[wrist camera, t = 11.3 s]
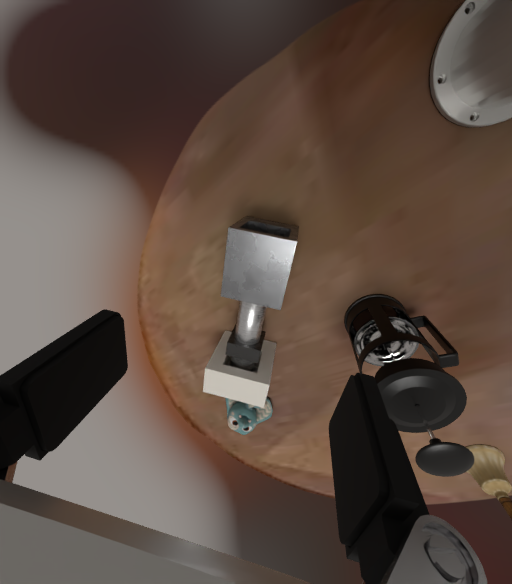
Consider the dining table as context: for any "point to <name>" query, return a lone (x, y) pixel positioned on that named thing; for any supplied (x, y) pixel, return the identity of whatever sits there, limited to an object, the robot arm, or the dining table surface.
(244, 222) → the grey metal block
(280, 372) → the dining table surface
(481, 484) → the hand bell
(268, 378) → the socket
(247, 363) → the rod
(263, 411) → the stuffed animal
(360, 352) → the french press
